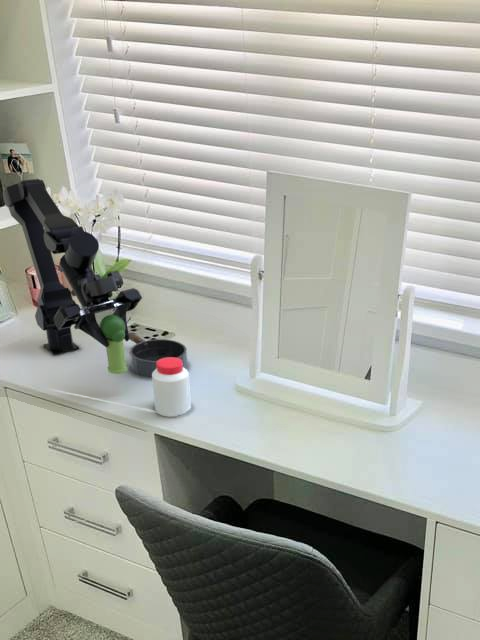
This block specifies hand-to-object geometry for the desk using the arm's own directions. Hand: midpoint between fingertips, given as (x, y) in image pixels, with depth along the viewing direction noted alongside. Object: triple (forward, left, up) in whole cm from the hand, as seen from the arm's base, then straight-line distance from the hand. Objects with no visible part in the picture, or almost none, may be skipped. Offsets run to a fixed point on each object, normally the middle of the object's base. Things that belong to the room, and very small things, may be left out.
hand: (117, 343), depth 167 cm
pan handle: (-19, +14, -10) cm, 26 cm away
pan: (-9, +14, -13) cm, 21 cm away
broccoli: (-1, 0, -7) cm, 7 cm away
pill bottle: (+11, +6, -13) cm, 18 cm away
